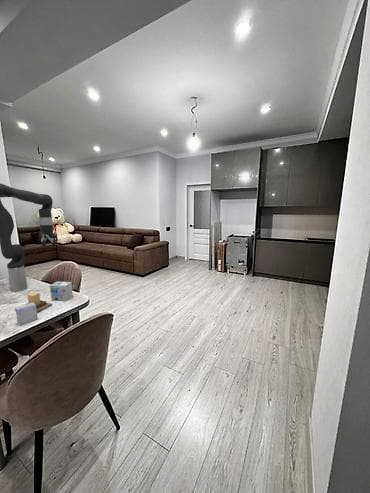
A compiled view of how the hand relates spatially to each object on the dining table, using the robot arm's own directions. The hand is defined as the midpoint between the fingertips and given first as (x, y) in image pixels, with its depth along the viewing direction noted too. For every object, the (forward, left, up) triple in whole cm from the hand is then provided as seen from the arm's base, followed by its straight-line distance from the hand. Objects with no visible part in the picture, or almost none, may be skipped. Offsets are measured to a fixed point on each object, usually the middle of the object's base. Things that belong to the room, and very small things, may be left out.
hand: (49, 247), depth 139 cm
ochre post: (+13, -24, -31) cm, 41 cm away
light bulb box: (+17, -9, -32) cm, 38 cm away
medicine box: (+22, -35, -32) cm, 53 cm away
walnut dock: (+13, -24, -32) cm, 42 cm away
